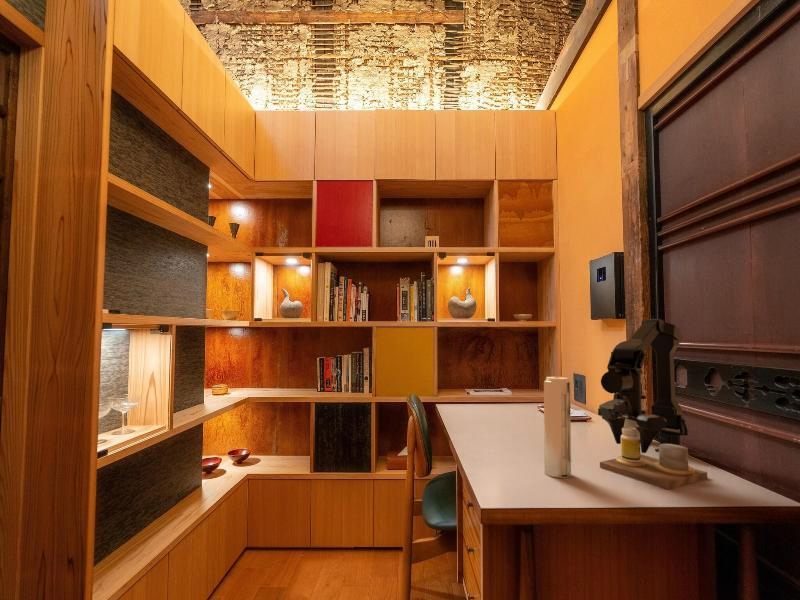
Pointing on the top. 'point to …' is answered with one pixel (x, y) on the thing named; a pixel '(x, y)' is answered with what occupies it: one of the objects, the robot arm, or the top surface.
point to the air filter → (557, 427)
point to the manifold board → (659, 468)
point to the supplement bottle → (630, 445)
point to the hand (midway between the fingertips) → (630, 448)
